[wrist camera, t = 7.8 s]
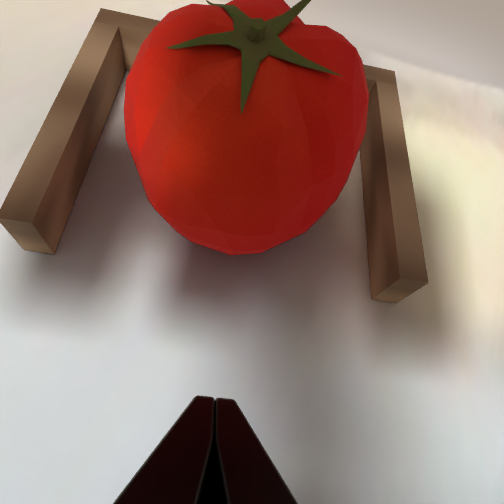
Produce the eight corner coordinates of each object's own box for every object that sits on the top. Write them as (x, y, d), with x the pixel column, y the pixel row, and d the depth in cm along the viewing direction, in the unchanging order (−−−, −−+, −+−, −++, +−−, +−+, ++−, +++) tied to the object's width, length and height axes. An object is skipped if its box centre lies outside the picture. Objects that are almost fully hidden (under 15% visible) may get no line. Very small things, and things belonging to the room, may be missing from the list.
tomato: (323, 135, 21) (398, -29, 13) (326, 302, 16) (445, 190, 9) (161, 105, 20) (147, -90, 12) (113, 274, 15) (43, 119, 8)
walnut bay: (396, 302, 17) (428, 282, 14) (24, 249, 15) (-4, 217, 13) (374, 106, 23) (394, 71, 21) (109, 52, 21) (100, 7, 19)
